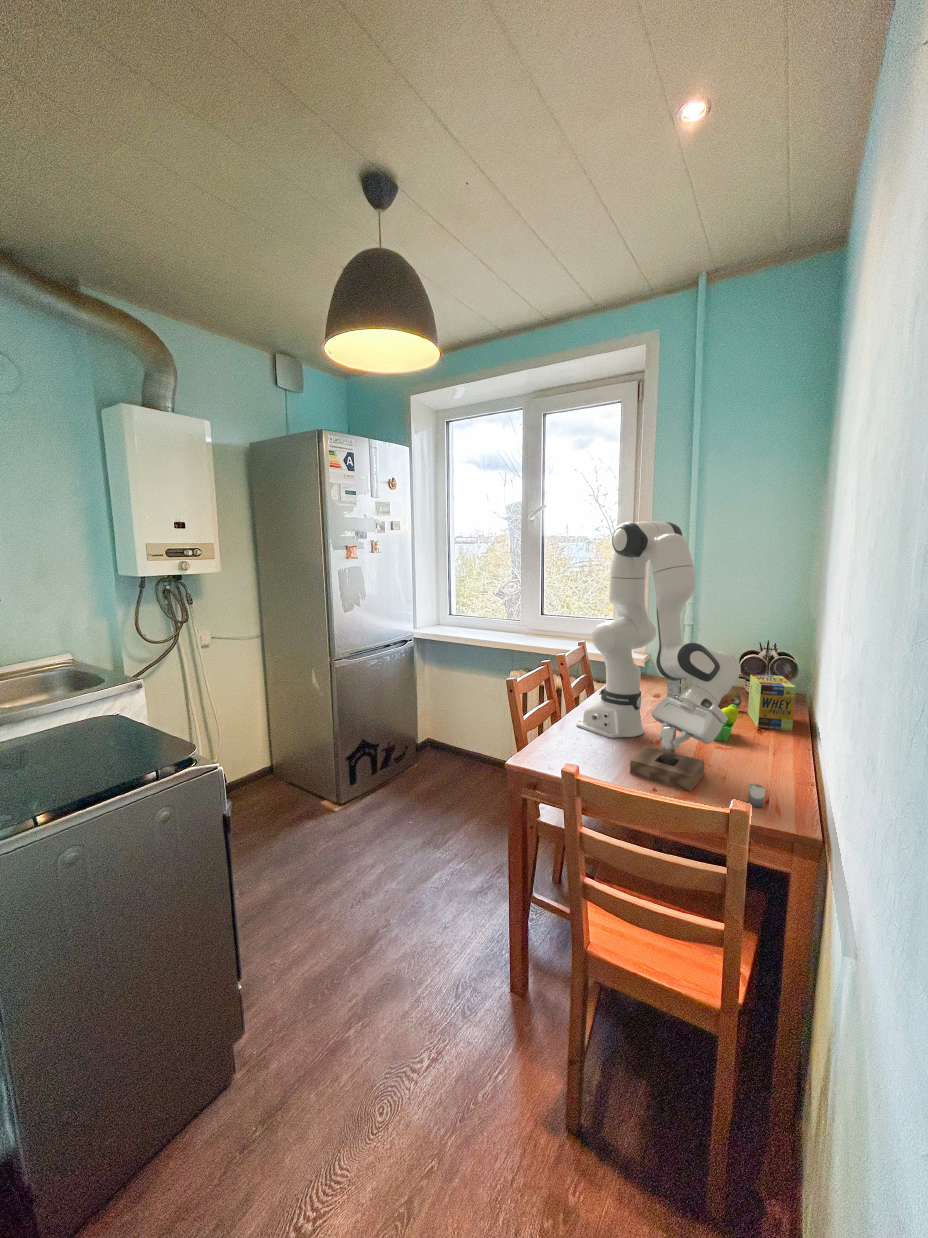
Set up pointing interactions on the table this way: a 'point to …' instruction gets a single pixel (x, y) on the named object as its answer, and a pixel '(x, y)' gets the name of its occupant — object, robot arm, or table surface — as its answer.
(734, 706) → the fruit basket
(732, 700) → the tin
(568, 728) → the table surface
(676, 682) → the candy bar box
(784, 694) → the protein box
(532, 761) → the table surface
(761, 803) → the short pin
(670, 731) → the long pin
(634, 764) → the hole block
